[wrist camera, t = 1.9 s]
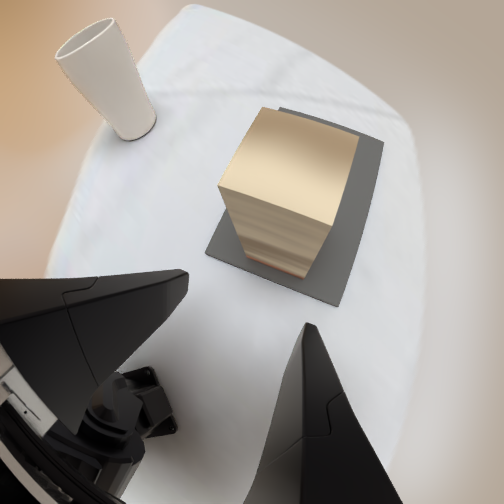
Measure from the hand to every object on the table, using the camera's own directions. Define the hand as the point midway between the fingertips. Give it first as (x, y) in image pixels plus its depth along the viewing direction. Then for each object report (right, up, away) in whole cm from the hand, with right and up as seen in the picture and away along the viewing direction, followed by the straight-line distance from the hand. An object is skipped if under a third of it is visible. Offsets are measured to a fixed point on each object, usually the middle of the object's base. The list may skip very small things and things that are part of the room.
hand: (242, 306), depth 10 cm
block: (+3, +3, +13) cm, 14 cm away
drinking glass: (-14, +18, +19) cm, 30 cm away
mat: (+5, +8, +15) cm, 17 cm away
